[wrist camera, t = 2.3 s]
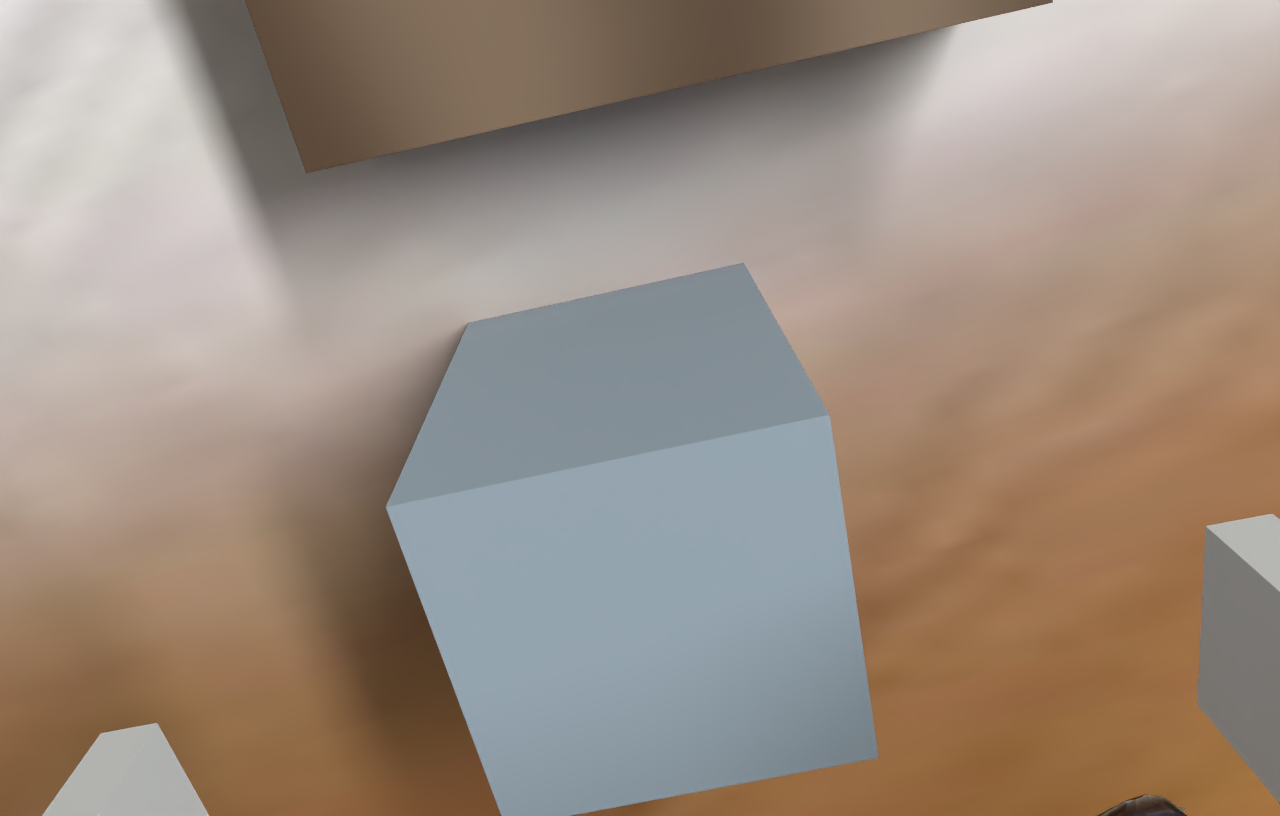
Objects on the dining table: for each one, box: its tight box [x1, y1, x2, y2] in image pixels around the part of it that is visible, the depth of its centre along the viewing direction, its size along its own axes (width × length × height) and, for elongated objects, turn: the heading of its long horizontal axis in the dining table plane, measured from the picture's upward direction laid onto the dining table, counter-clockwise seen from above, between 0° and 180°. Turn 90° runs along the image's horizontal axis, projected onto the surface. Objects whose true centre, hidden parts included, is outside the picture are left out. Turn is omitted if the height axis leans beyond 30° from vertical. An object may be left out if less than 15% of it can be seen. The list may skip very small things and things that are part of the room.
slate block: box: [386, 263, 879, 816], centre depth 17 cm, size 6×6×8 cm
